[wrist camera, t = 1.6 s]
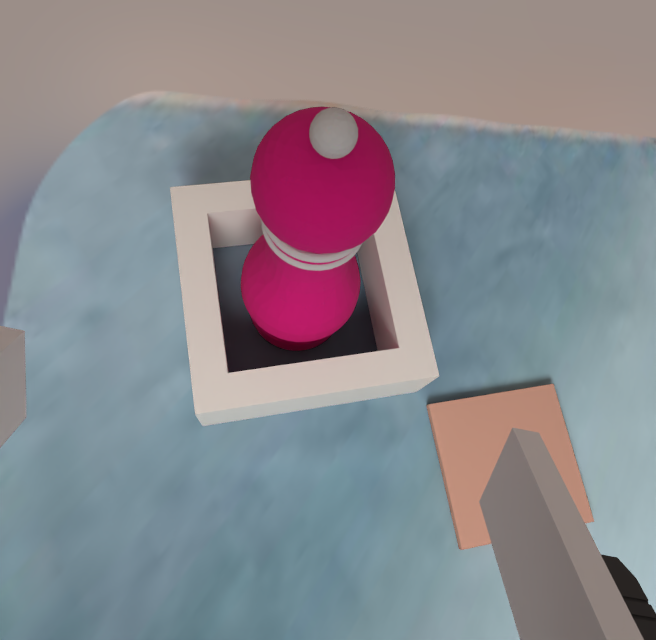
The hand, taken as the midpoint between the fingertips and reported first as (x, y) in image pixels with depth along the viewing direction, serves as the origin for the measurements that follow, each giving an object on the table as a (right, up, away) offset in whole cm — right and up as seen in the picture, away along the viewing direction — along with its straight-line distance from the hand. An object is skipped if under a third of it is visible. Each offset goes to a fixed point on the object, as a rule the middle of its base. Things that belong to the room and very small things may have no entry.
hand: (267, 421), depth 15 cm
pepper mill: (-1, +4, +23) cm, 24 cm away
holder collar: (-1, +4, +23) cm, 23 cm away
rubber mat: (+13, -7, +22) cm, 26 cm away
